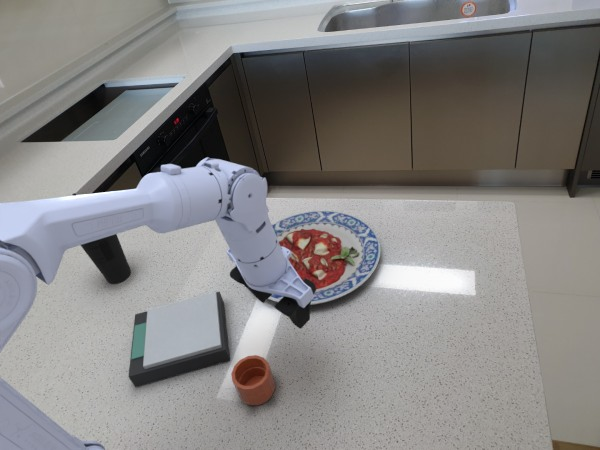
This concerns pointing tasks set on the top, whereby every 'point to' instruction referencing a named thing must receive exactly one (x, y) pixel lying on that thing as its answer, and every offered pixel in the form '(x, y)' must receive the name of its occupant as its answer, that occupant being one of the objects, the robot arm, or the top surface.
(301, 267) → the ceramic plate
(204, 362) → the scale
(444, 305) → the top surface
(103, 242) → the drinking cup
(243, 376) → the flower pot
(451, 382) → the top surface
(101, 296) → the top surface
